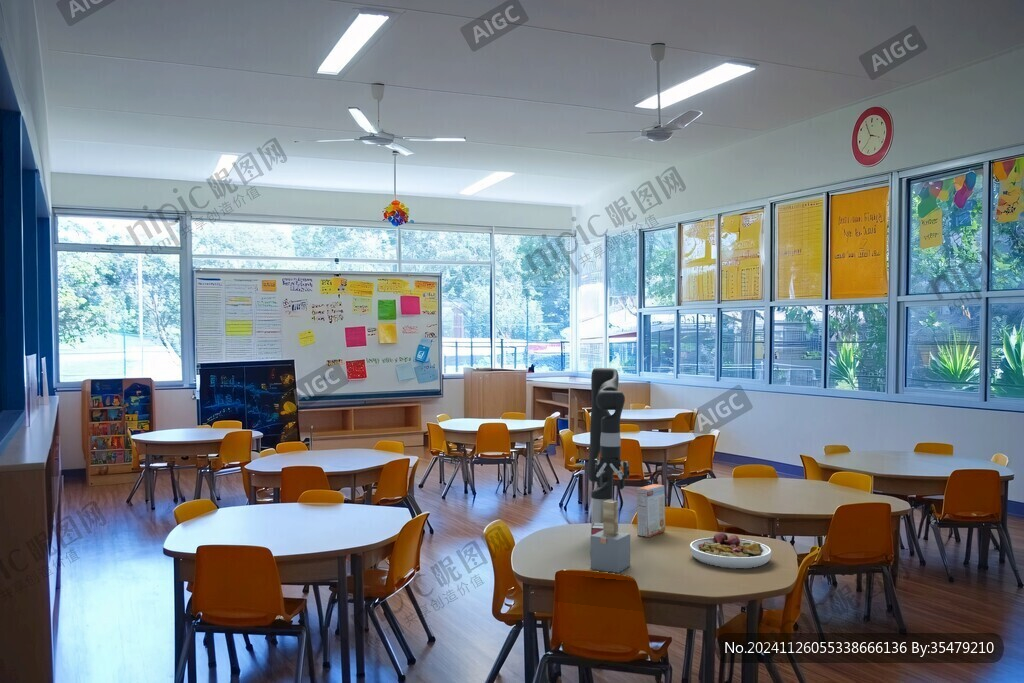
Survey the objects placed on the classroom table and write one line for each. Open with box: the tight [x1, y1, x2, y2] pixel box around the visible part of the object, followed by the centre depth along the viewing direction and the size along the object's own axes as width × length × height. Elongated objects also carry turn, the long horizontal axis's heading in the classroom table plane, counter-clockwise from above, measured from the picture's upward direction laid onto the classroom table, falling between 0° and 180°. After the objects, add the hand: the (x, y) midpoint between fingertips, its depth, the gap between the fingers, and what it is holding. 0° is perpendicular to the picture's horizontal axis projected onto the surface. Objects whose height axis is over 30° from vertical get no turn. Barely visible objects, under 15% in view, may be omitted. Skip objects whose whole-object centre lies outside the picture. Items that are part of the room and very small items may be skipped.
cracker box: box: [636, 483, 666, 538], centre depth 329 cm, size 14×6×21 cm, turn 136°
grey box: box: [590, 530, 631, 574], centre depth 278 cm, size 12×11×12 cm
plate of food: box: [689, 531, 772, 569], centre depth 289 cm, size 30×30×8 cm
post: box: [603, 500, 619, 537], centre depth 278 cm, size 4×4×24 cm
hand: (610, 488), depth 278 cm, fingers open, 8 cm apart
